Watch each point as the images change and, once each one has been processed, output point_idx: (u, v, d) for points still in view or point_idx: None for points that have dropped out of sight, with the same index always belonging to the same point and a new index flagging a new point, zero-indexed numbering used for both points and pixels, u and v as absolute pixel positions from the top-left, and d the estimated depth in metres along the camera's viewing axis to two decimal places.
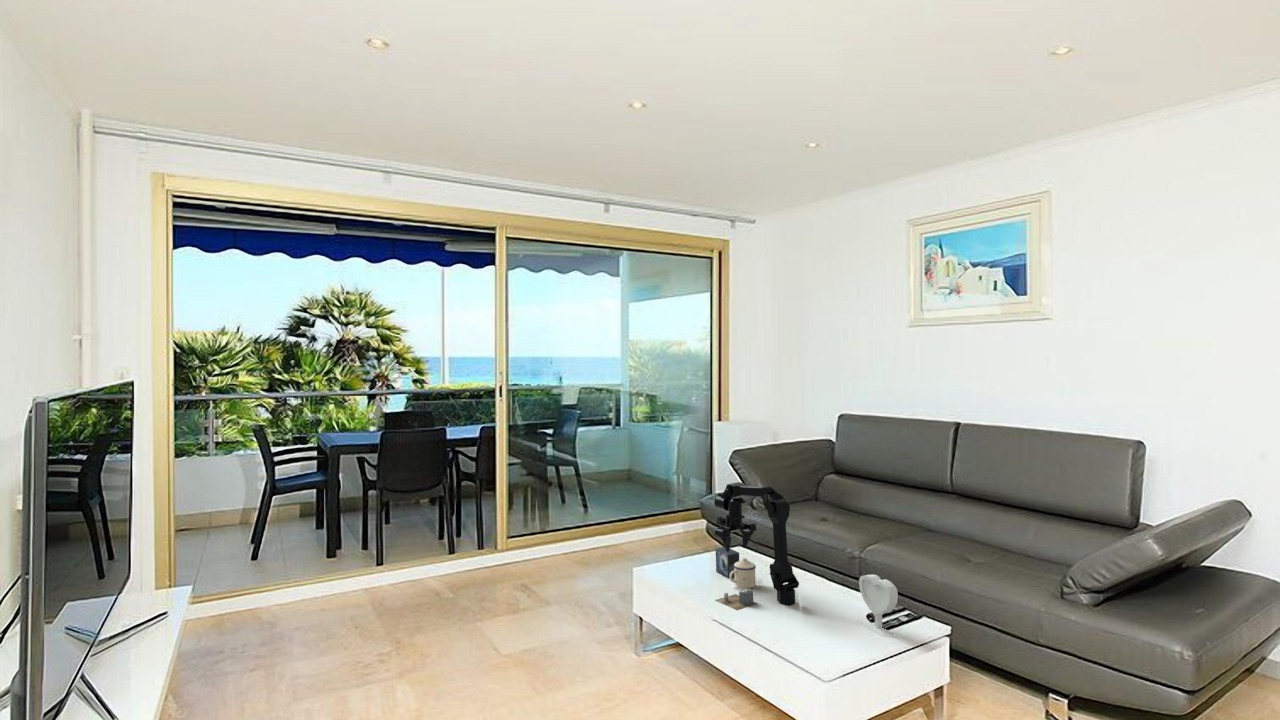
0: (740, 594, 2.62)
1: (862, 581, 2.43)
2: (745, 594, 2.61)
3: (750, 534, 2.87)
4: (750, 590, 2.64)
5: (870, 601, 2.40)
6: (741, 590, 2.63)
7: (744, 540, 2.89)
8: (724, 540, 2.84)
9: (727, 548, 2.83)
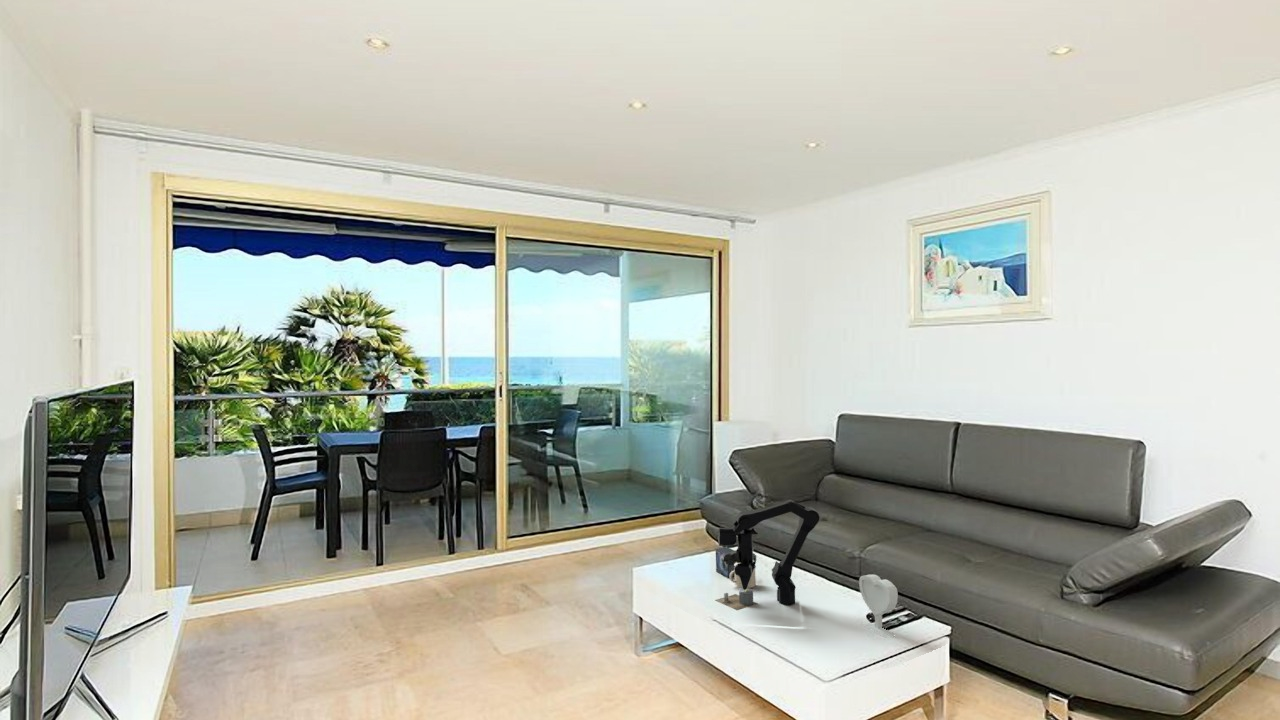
0: (740, 594, 2.62)
1: (862, 581, 2.43)
2: (745, 594, 2.61)
3: (754, 565, 2.68)
4: (750, 590, 2.64)
5: (870, 601, 2.40)
6: (741, 590, 2.63)
7: None
8: (742, 577, 2.58)
9: (746, 586, 2.58)
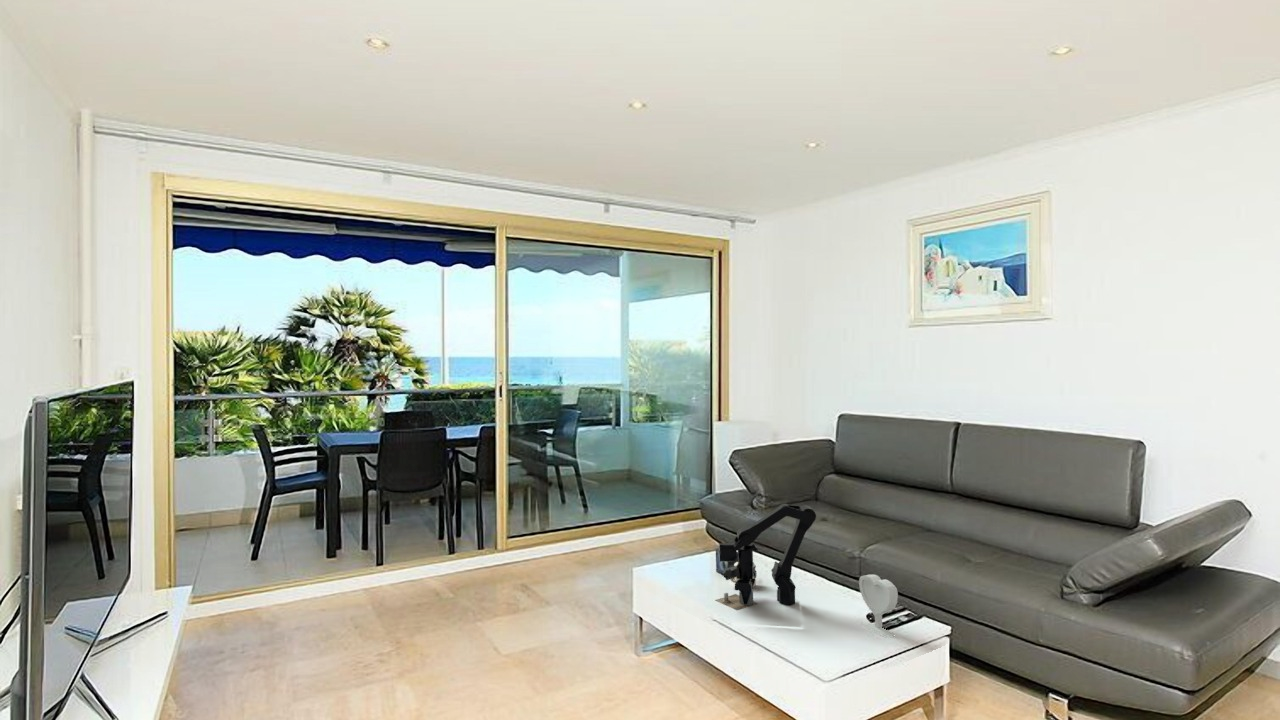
0: (740, 594, 2.62)
1: (862, 581, 2.43)
2: None
3: None
4: None
5: (870, 601, 2.40)
6: None
7: None
8: (743, 592, 2.60)
9: (746, 600, 2.60)
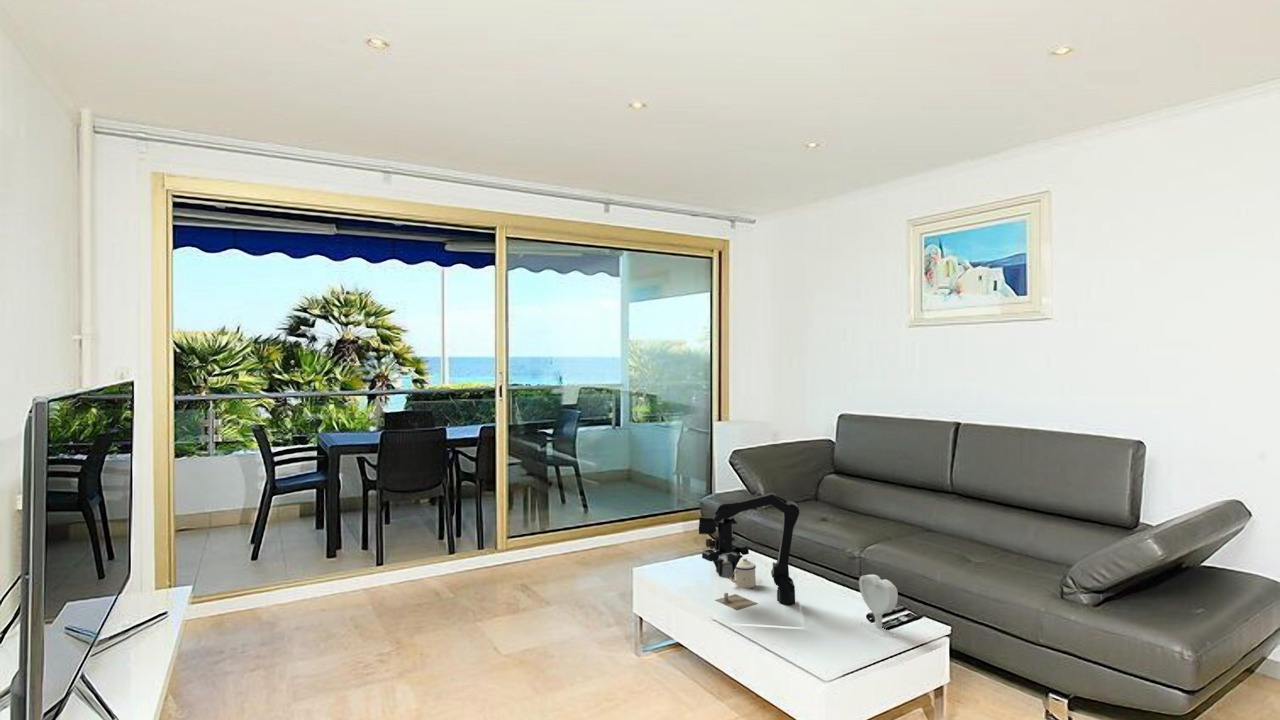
0: None
1: (862, 581, 2.43)
2: None
3: (738, 559, 2.65)
4: (729, 564, 2.65)
5: (870, 601, 2.40)
6: None
7: None
8: (716, 563, 2.64)
9: (719, 572, 2.63)
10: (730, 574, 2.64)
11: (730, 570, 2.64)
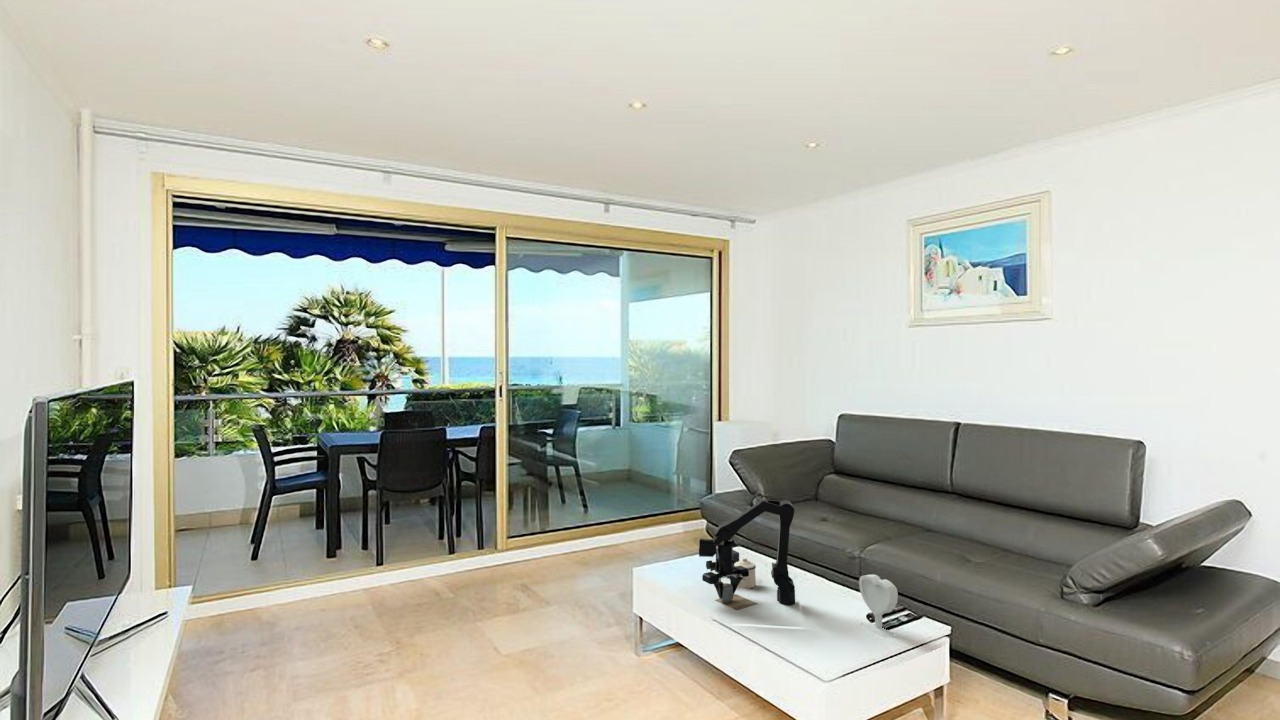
0: None
1: (862, 581, 2.43)
2: None
3: (738, 581, 2.65)
4: (729, 586, 2.65)
5: (870, 601, 2.40)
6: None
7: None
8: (716, 585, 2.64)
9: (719, 594, 2.64)
10: (730, 596, 2.64)
11: (730, 592, 2.64)
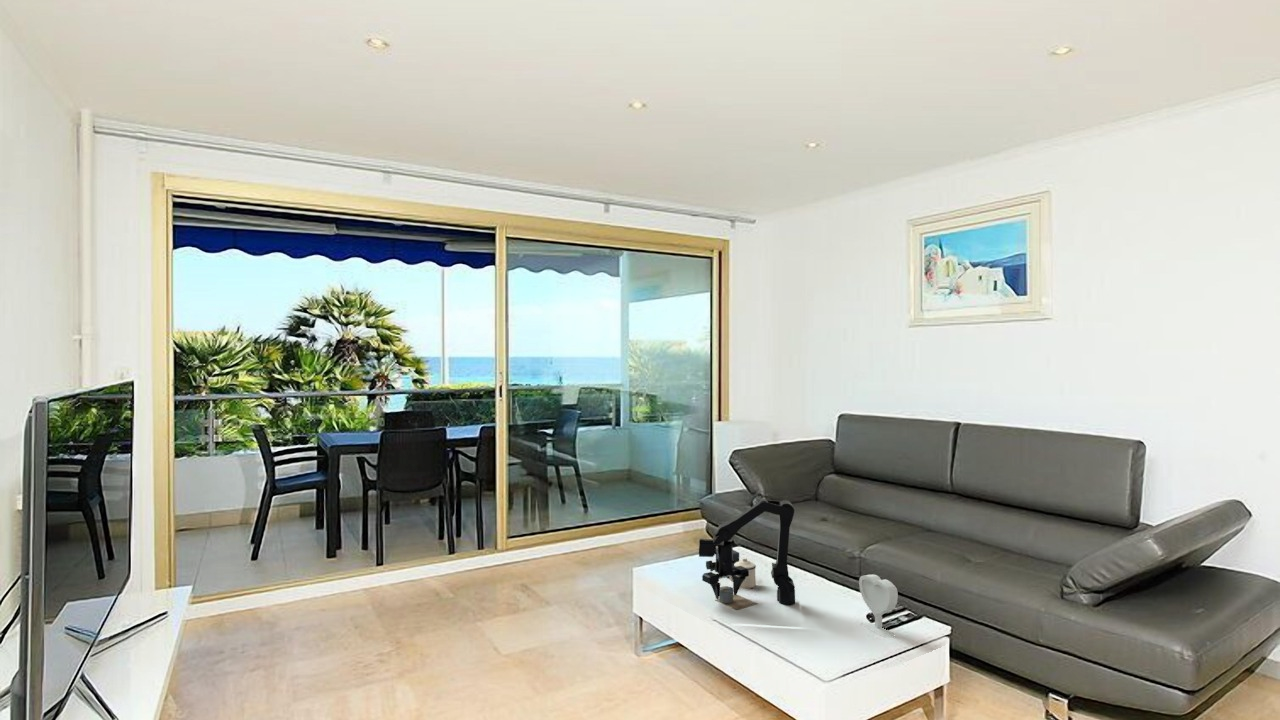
0: None
1: (862, 581, 2.43)
2: (720, 591, 2.65)
3: (741, 580, 2.66)
4: (729, 589, 2.65)
5: (870, 601, 2.40)
6: (722, 587, 2.67)
7: (735, 586, 2.68)
8: (713, 586, 2.63)
9: (716, 595, 2.63)
10: (730, 599, 2.64)
11: (730, 595, 2.64)
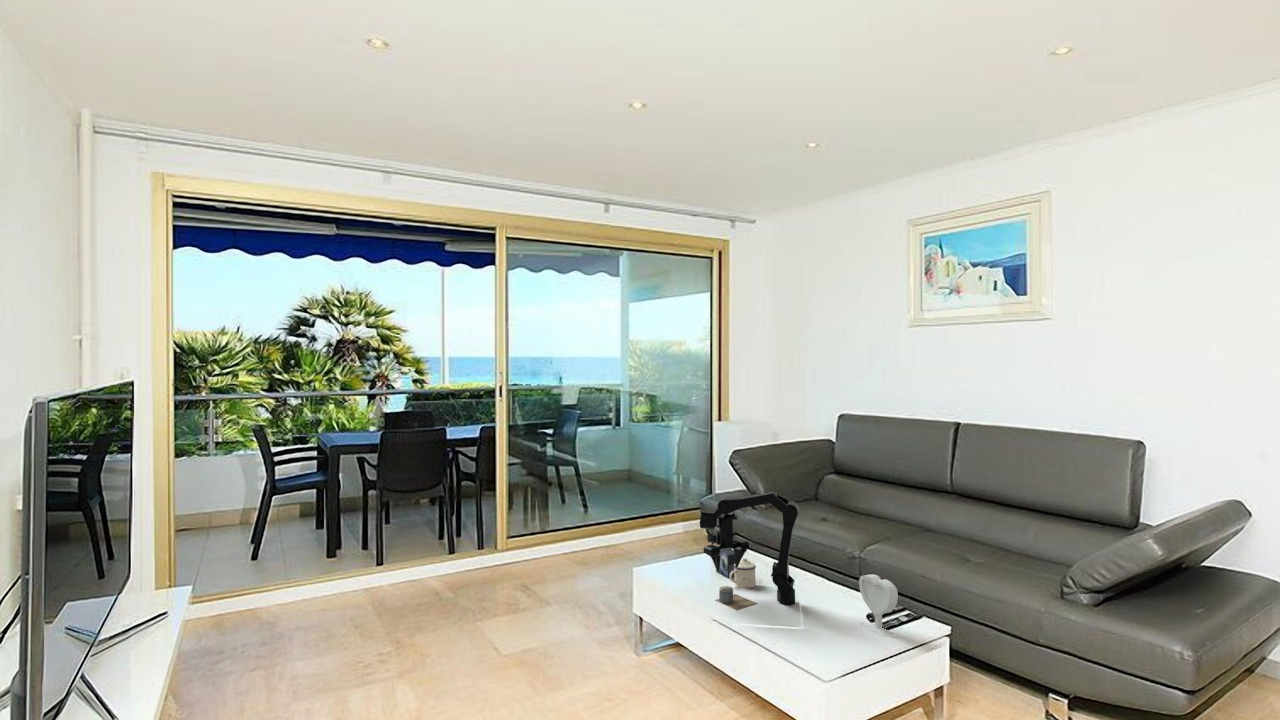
0: None
1: (862, 581, 2.43)
2: (720, 591, 2.65)
3: (742, 553, 2.70)
4: (729, 589, 2.65)
5: (870, 601, 2.40)
6: (722, 587, 2.67)
7: (736, 559, 2.72)
8: (714, 559, 2.67)
9: (717, 567, 2.67)
10: (730, 599, 2.64)
11: (730, 595, 2.64)
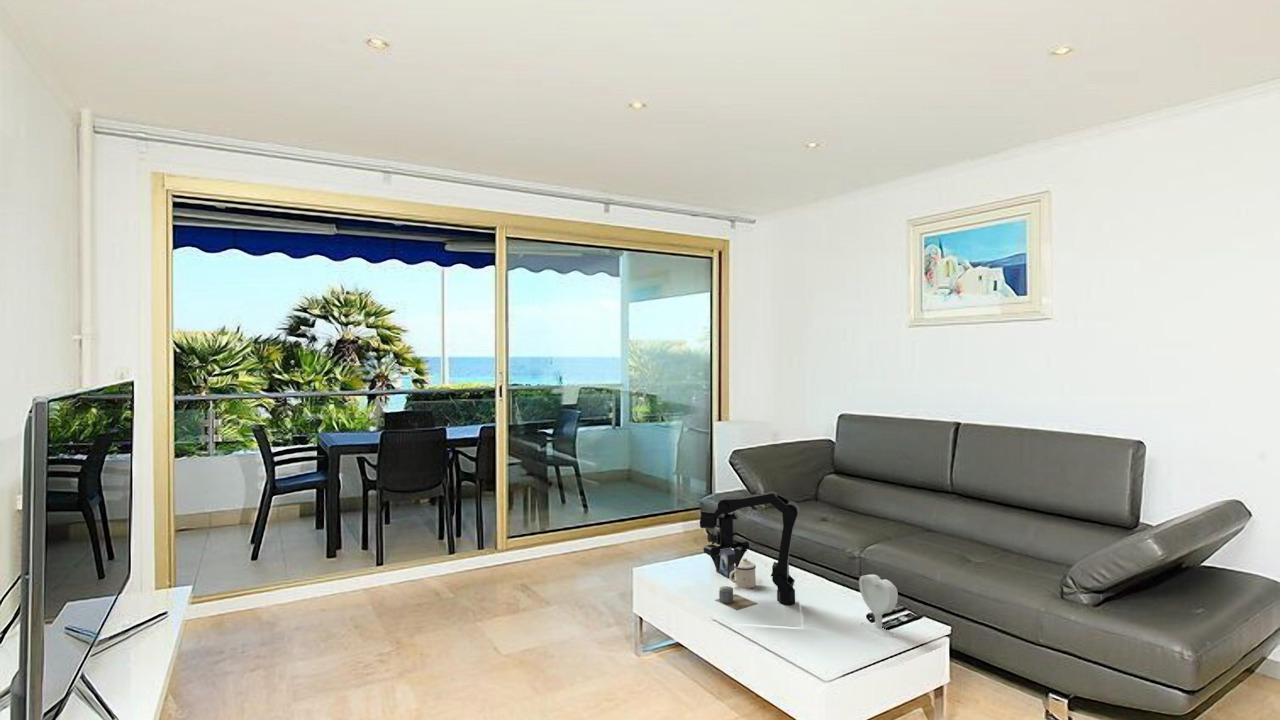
0: None
1: (862, 581, 2.43)
2: (720, 591, 2.65)
3: (742, 552, 2.70)
4: (729, 589, 2.65)
5: (870, 601, 2.40)
6: (722, 587, 2.67)
7: (736, 559, 2.72)
8: (714, 558, 2.68)
9: (717, 567, 2.67)
10: (730, 599, 2.64)
11: (730, 595, 2.64)
